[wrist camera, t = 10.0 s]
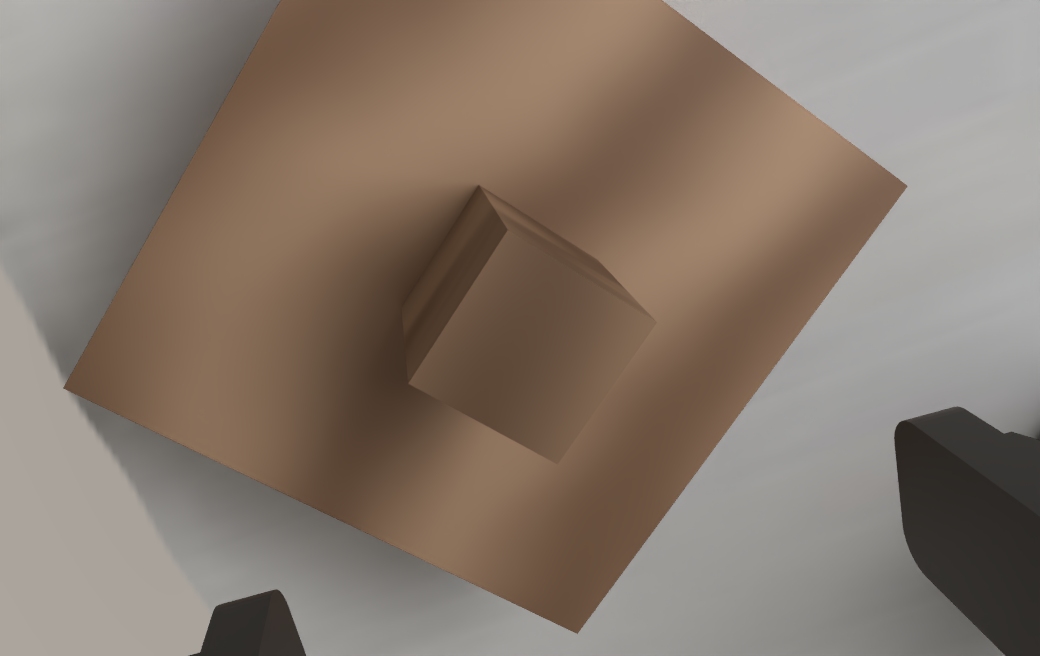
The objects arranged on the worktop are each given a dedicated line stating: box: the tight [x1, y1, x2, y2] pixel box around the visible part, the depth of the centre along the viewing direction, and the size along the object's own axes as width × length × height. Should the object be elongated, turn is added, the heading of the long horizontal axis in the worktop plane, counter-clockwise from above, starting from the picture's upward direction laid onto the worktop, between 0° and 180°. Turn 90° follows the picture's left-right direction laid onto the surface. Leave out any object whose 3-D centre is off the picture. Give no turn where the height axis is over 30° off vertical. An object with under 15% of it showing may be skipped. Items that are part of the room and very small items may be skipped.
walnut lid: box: [64, 0, 907, 634], centre depth 20 cm, size 15×15×6 cm
